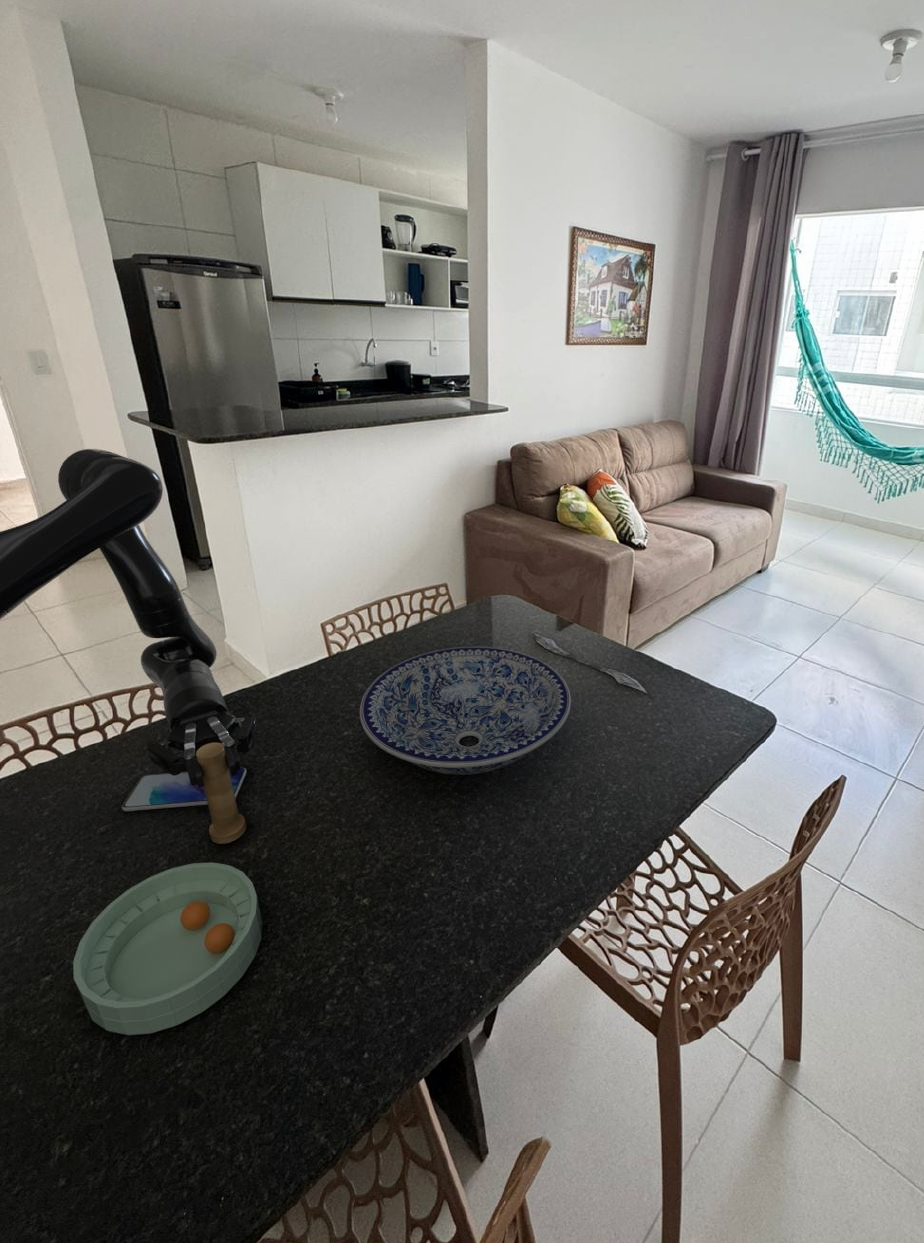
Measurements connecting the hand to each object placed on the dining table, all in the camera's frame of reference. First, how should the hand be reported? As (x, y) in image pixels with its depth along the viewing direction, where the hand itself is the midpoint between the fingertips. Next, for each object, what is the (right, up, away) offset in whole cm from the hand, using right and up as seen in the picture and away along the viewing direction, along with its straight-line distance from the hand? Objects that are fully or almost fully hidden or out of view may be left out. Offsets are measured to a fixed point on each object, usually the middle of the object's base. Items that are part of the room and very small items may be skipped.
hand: (217, 775), depth 80 cm
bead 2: (+5, -16, -9) cm, 19 cm away
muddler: (-2, -10, +7) cm, 12 cm away
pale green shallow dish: (+1, -18, -9) cm, 20 cm away
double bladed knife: (+49, +7, +53) cm, 72 cm away
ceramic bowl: (+28, -3, +28) cm, 39 cm away
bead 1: (+1, -14, -7) cm, 16 cm away
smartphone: (-12, -7, +14) cm, 20 cm away
